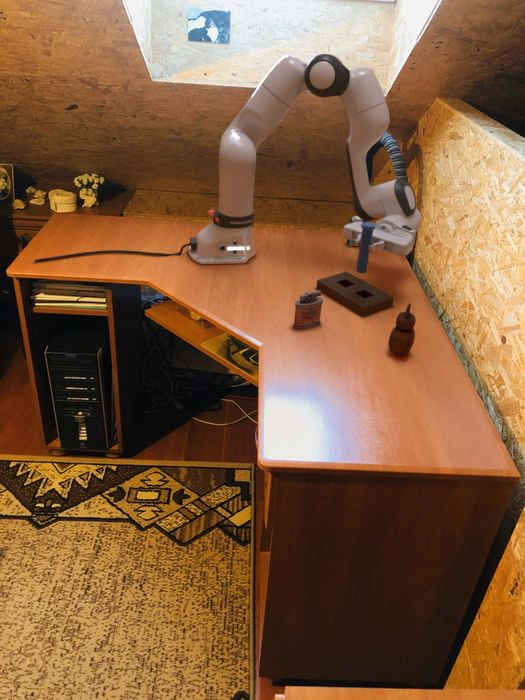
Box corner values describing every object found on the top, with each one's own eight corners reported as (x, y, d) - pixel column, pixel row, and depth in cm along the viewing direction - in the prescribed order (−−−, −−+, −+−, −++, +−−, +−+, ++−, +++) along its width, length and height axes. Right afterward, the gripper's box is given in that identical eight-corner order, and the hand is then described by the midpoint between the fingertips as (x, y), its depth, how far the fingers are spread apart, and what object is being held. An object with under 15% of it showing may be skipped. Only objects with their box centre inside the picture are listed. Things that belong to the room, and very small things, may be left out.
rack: (362, 317, 160) (364, 307, 159) (316, 288, 174) (317, 279, 172) (392, 306, 167) (394, 297, 165) (345, 280, 180) (346, 271, 178)
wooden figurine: (404, 362, 142) (417, 309, 134) (383, 355, 144) (393, 302, 136) (414, 350, 147) (426, 298, 139) (392, 343, 149) (403, 292, 141)
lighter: (296, 331, 152) (300, 297, 146) (290, 325, 154) (293, 292, 149) (322, 325, 155) (326, 292, 150) (315, 319, 158) (319, 287, 152)
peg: (358, 274, 162) (366, 227, 155) (352, 269, 165) (359, 222, 158) (370, 273, 164) (378, 226, 156) (363, 267, 167) (371, 221, 159)
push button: (357, 240, 208) (361, 213, 203) (367, 245, 204) (371, 218, 199) (343, 243, 205) (346, 216, 199) (352, 248, 201) (356, 221, 196)
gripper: (358, 213, 172) (333, 225, 163) (421, 231, 162) (398, 245, 153) (355, 233, 176) (331, 245, 166) (416, 252, 165) (394, 267, 156)
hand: (363, 245), depth 159 cm, fingers closed on peg, 3 cm apart
